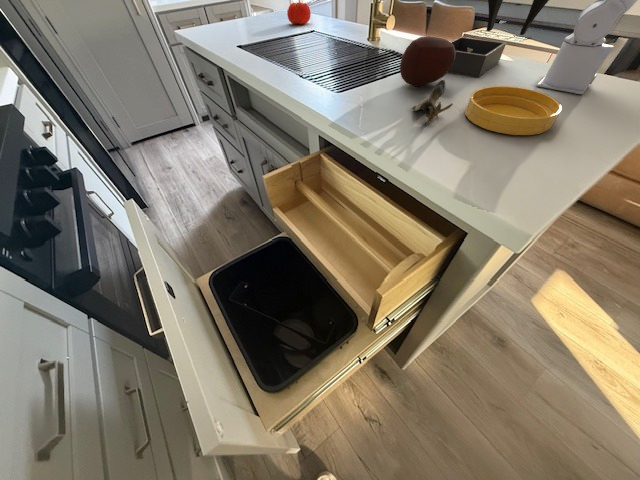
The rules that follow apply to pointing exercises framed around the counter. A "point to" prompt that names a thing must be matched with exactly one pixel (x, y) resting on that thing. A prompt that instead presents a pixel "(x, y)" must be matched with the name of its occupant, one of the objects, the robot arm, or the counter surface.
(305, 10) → the tomato
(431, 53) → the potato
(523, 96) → the bowl
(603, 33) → the robot arm
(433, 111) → the eagle figurine
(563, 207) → the counter surface
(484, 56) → the bin
